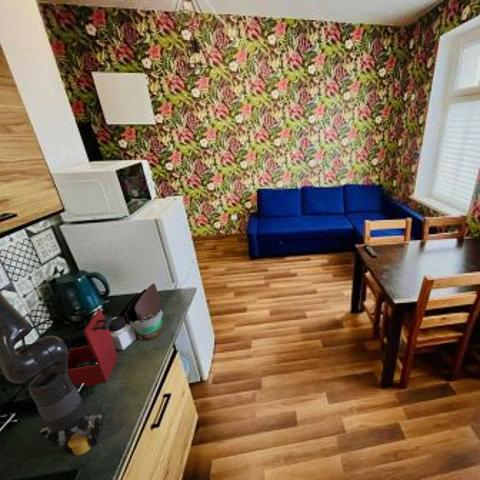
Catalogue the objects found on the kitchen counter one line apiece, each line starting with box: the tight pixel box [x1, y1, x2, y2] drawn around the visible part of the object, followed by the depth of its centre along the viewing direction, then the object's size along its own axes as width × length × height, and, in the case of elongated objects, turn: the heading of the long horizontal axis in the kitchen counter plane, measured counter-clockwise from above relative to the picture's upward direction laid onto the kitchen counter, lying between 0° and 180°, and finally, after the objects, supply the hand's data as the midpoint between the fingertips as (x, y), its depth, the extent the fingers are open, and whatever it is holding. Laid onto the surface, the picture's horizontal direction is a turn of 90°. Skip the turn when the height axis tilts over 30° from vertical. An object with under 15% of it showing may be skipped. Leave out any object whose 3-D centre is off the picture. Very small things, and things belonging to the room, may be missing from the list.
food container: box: [130, 307, 164, 341], centre depth 114 cm, size 12×6×10 cm, turn 137°
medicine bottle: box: [108, 316, 138, 351], centre depth 110 cm, size 7×7×12 cm
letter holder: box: [116, 282, 162, 331], centre depth 124 cm, size 10×20×14 cm, turn 8°
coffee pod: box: [68, 430, 92, 456], centre depth 75 cm, size 5×5×4 cm
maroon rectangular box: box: [67, 342, 119, 388], centre depth 97 cm, size 14×12×8 cm
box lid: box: [82, 309, 114, 364], centre depth 94 cm, size 14×12×5 cm
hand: (83, 446), depth 76 cm, fingers closed on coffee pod, 4 cm apart
